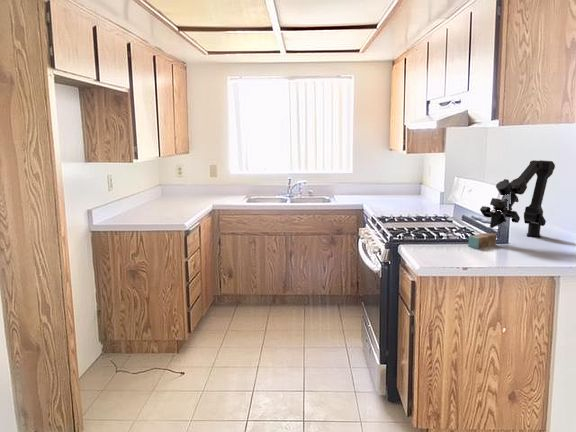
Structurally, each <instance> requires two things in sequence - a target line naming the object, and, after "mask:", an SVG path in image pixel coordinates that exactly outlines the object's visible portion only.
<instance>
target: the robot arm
mask: <svg viewBox="0 0 576 432" xmlns="http://www.w3.org/2000/svg"><path fill="white" fill-rule="evenodd" d="M555 168H556V164H555V163H554V161H552V160H541V159H539V160H530V162H529V164H528V166H527V167H526V168H525V169H524V170H523V171H522V172H521V174H520V175H519V176H517V178H514V179H512V180H511V182H510V180H509V179H508V178H507V179H506V178H505V179H503V180H502V181H499V182H497V184H496V185H495V188H496V189H497V191H498V193H499V195H500V196H501V195H505V194H506V195H507V194H510V192H511V204H509V210H507V208H506V207H507V201H508V200H507V199H501V198H496V197H494V198H493V197H492V198H491V200H490V203H489V205H490V206H486V205H485V206H484V205H482V206H481V207H480V209H479V211H480V212H481V214H482V216H483V217H485V218H489V219H490V223H489V228H490V229H493V228H496V227H497V226H499V225H501V224H504V223H506V222H507V219H509V218H510V219H511V223H519V221H520V220H521V217H520V216H519V215H520V214H518V212H517V211H516V210H513V208H512V207H513V206H514V204H515V203H519V196H517V195H520V196H521V195H523V194H525V192H526V191H527V189H528V183H529V182H530V180H532V178H533V177H534V176H535V175H536V180H535V185H534V189H533V192H532V193H533V194H532V197H531V201H530V204H529V205H528V206H525V209H524V212H523V221H524V224H528V227H527V233H526V237H534V238H541V237H542V236H541V226H542V227H545V225H546V222H547V220H546V219H545V217H544V210H543V207H542V204H543V201H544V196H545V191H546V187H547V182H548V179H549V178H550V177H551V176H552V175H553V174H554V170H555ZM491 206H493V207H492V209H491ZM497 210H501V211H502V212H500V211H497ZM501 213H503V214H501Z"/></svg>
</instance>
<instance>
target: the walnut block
mask: <svg viewBox="0 0 576 432" xmlns="http://www.w3.org/2000/svg"><path fill="white" fill-rule="evenodd" d="M497 236H498V235H497V234H494V233H489V232H486V233H480V234H475V235H469V236H468V245H467V246H468V247H469V248H473V249H477V250H478V249H483V248H487V247H492V246H493V247H494V246H497Z"/></svg>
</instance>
